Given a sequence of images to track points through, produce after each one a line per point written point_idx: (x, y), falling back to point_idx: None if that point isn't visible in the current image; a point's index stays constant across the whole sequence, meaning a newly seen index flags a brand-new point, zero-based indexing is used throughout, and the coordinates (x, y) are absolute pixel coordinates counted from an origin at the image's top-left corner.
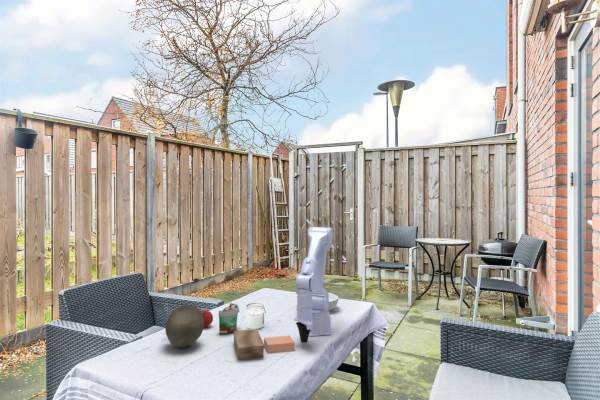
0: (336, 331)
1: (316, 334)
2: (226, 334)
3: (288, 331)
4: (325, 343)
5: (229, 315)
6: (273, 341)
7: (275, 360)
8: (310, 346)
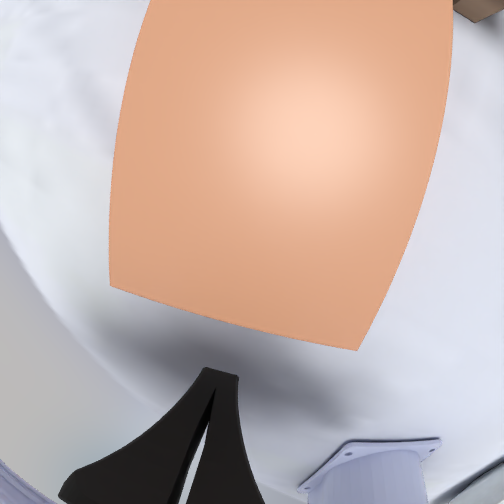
0: None
1: (330, 467)
2: None
3: (500, 368)
4: None
5: None
6: (258, 11)
7: (66, 33)
8: None
